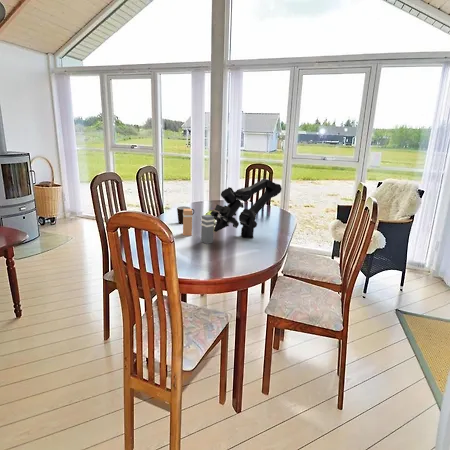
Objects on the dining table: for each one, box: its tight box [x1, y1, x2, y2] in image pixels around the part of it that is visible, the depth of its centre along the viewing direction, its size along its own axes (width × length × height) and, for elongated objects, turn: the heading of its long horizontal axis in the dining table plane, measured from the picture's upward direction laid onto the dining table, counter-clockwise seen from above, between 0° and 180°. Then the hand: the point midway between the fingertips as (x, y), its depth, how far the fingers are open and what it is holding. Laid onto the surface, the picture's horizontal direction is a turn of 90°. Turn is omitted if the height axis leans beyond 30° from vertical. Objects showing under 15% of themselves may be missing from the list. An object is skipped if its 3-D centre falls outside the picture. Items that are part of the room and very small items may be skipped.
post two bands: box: [200, 214, 215, 245], centre depth 175 cm, size 5×5×14 cm
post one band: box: [182, 208, 194, 236], centre depth 186 cm, size 5×5×14 cm
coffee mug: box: [176, 205, 195, 225], centre depth 213 cm, size 12×9×10 cm
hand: (214, 231), depth 178 cm, fingers closed
